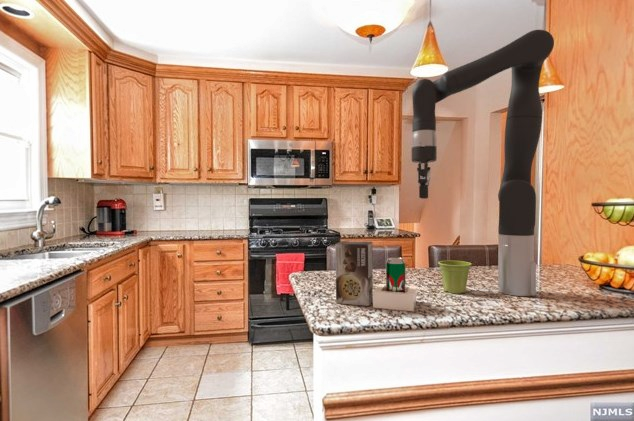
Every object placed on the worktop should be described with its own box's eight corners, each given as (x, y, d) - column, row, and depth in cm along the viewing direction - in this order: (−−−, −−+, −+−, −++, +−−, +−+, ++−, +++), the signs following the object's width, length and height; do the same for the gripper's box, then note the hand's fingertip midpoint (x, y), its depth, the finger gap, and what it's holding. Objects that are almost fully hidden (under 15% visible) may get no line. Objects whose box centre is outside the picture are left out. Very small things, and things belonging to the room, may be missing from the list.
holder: (416, 301, 98) (416, 286, 98) (413, 311, 88) (413, 295, 88) (379, 297, 101) (379, 283, 101) (372, 307, 92) (372, 291, 92)
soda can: (405, 302, 97) (405, 257, 97) (405, 307, 92) (405, 260, 92) (385, 301, 98) (385, 257, 98) (385, 306, 93) (385, 259, 93)
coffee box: (373, 300, 99) (373, 241, 98) (369, 306, 93) (369, 243, 92) (341, 297, 102) (341, 240, 101) (334, 303, 96) (334, 242, 95)
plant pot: (438, 294, 106) (438, 264, 105) (437, 287, 115) (437, 259, 114) (473, 296, 103) (473, 266, 103) (469, 289, 112) (469, 261, 112)
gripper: (413, 150, 121) (413, 198, 121) (409, 143, 107) (409, 198, 108) (437, 149, 118) (436, 198, 119) (436, 142, 105) (435, 197, 105)
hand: (423, 198), depth 113 cm, fingers open, 8 cm apart
